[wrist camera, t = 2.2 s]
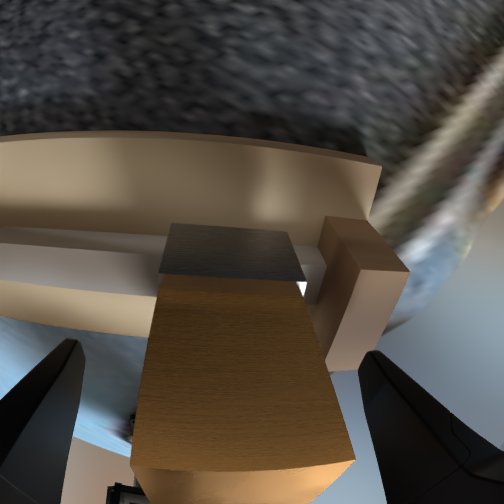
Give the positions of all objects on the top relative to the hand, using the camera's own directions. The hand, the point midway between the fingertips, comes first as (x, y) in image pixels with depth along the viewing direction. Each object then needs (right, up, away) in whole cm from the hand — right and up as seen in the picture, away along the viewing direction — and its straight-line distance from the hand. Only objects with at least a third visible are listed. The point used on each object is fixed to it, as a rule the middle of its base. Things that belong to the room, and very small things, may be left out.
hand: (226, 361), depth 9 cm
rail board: (-7, +4, +5) cm, 9 cm away
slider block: (0, +2, +3) cm, 4 cm away
